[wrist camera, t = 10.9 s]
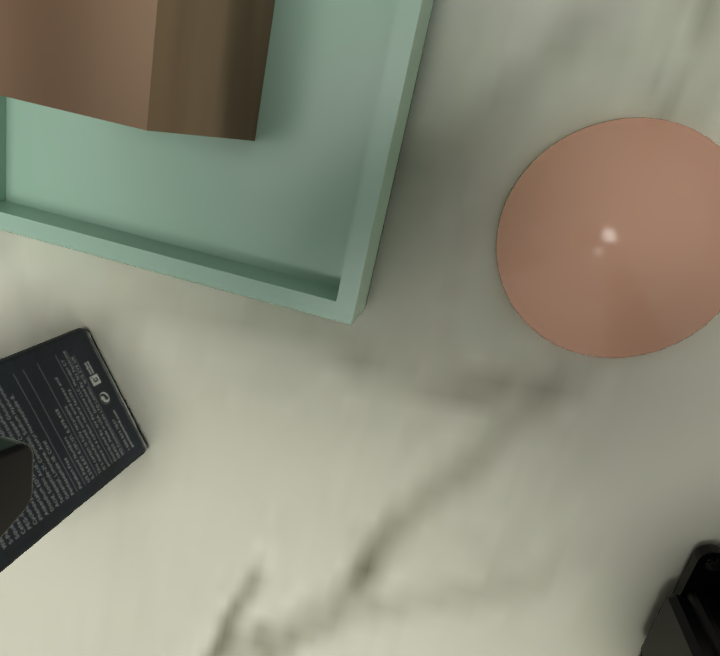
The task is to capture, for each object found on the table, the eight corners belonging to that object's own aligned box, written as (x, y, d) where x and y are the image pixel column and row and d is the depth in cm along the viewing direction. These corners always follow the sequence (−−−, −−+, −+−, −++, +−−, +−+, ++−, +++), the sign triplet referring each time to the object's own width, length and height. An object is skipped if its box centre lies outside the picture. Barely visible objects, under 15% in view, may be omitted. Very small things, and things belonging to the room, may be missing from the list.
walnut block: (281, -41, 16) (170, -153, 10) (254, 141, 17) (146, 130, 12) (123, -71, 16) (-64, -192, 11) (111, 107, 18) (-56, 81, 12)
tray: (478, -199, 14) (478, -257, 12) (364, 307, 19) (351, 325, 17) (5, -264, 16) (-60, -324, 14) (5, 212, 21) (-46, 217, 19)
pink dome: (784, 143, 15) (799, 143, 15) (691, 372, 18) (700, 381, 17) (529, 100, 16) (532, 97, 16) (472, 322, 19) (472, 328, 18)
